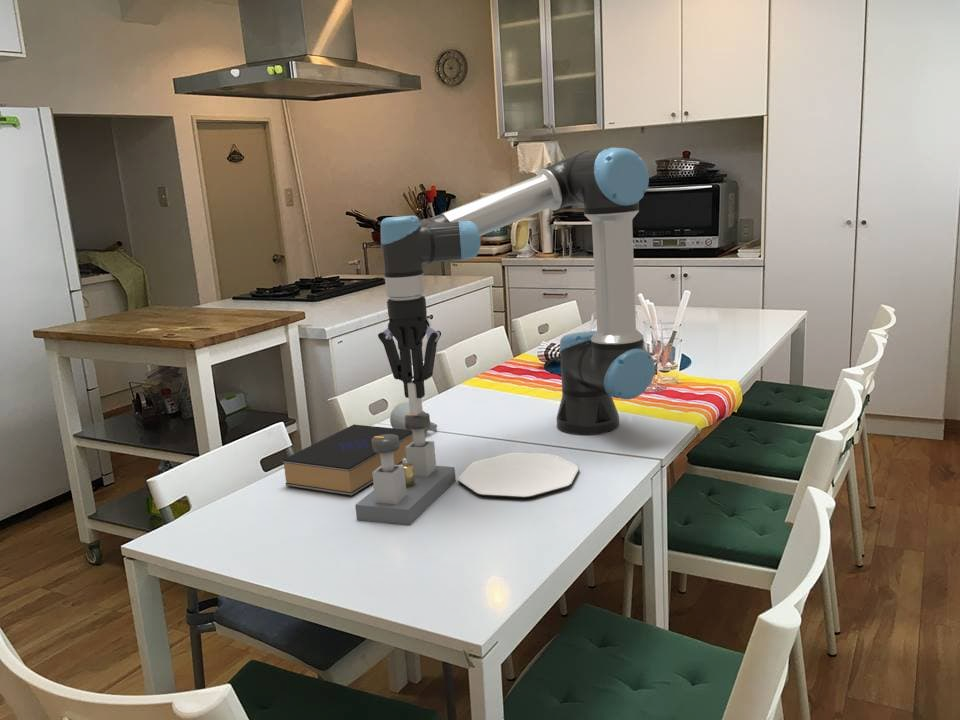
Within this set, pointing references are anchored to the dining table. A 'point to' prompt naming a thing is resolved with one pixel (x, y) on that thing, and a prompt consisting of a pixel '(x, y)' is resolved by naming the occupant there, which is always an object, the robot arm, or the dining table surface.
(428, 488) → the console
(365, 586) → the dining table surface
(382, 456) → the knob
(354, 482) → the book
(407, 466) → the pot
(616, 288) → the robot arm
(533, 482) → the plate
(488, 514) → the dining table surface
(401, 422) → the ceramic mug
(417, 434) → the knob
